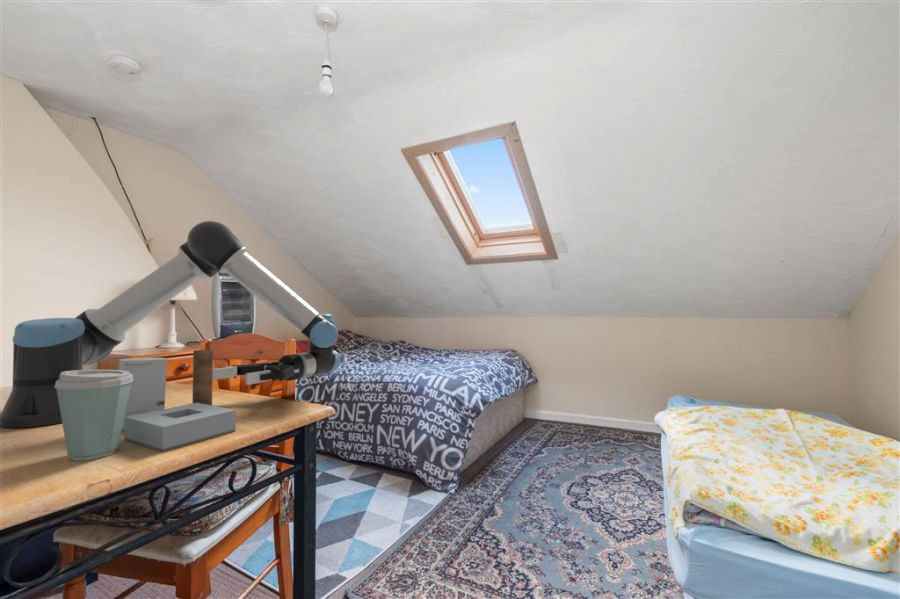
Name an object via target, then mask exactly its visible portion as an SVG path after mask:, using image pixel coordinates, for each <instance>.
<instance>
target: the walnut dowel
mask: <svg viewBox="0 0 900 599" xmlns="http://www.w3.org/2000/svg"><path fill="white" fill-rule="evenodd" d="M192 354H193V355H192V359H193V361H192V362H193V363H192V398H191V399H192V403H191V404H193V403H202V404H207V405H212V406H213V380H212V377H213V369H214V368H213V367H214V362H213V360H214V349H197V350H193V353H192Z"/></svg>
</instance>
